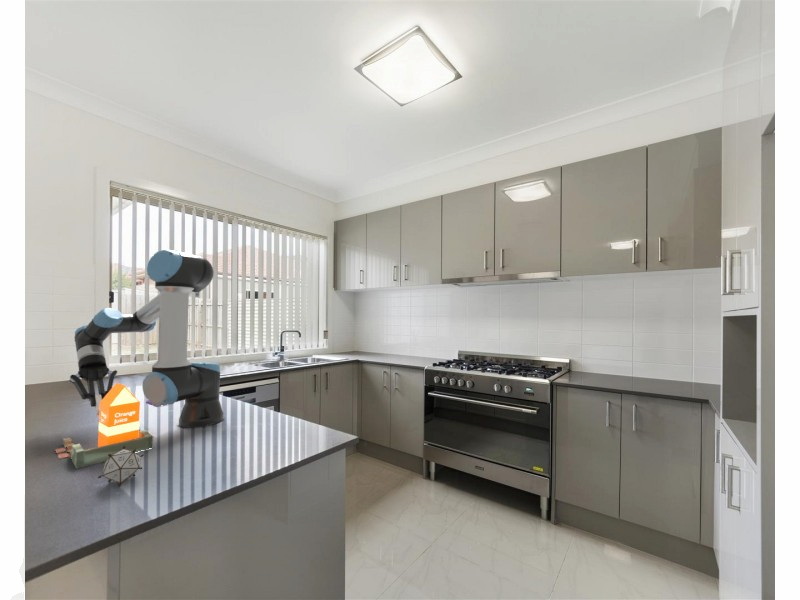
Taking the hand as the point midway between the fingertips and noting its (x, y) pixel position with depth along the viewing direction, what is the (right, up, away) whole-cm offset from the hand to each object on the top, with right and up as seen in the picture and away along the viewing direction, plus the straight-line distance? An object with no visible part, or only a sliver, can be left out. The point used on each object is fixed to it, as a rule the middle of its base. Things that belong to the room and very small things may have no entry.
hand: (99, 412), depth 113 cm
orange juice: (+15, -8, -10) cm, 20 cm away
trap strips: (+1, -8, -13) cm, 16 cm away
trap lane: (+10, -8, -8) cm, 15 cm away
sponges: (-12, -12, +45) cm, 48 cm away
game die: (+33, -7, -30) cm, 45 cm away
